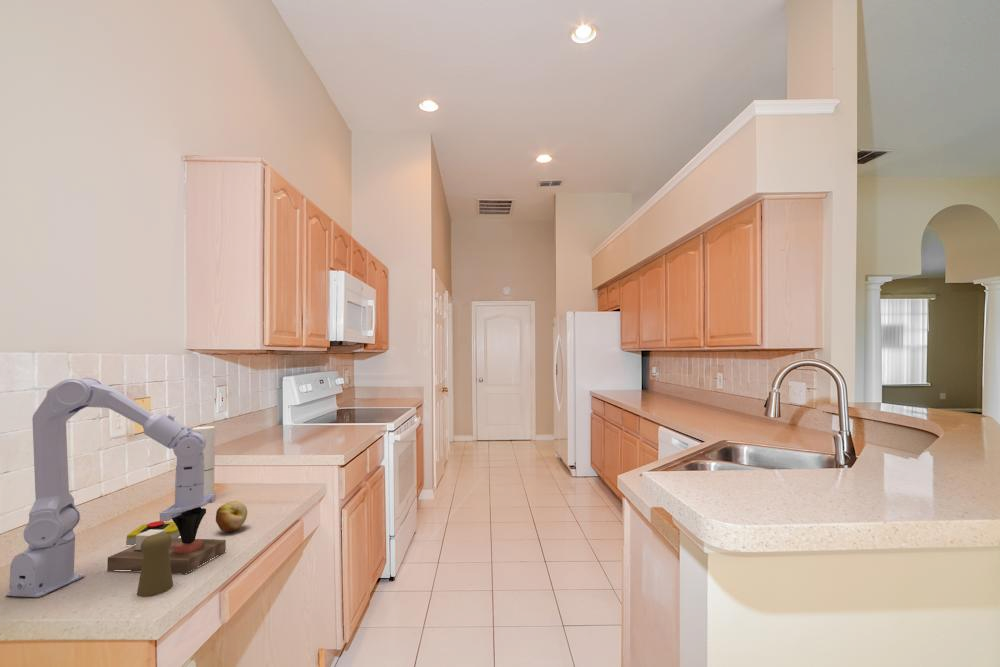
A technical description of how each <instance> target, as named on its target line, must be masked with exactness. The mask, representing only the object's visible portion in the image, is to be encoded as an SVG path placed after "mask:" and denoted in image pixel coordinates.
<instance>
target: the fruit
mask: <svg viewBox="0 0 1000 667" xmlns="http://www.w3.org/2000/svg"><path fill="white" fill-rule="evenodd" d="M247 517H248V508H247V506H246V505H245V504H244V503H242V502H241V501H236V500H235V501H234V500H233V501H229V502H226V503H224V504H223V505H220V506H219V507H218V509H216V514H215V523H216V524H217V526H218V528H219V530H221V531H223V532H225V533H231V532H234V531H236V530H238V529H239V528H241V527H242V526H243V525H244V523H245V522H246V520H247Z"/></svg>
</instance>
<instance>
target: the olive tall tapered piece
mask: <svg viewBox="0 0 1000 667" xmlns="http://www.w3.org/2000/svg"><path fill="white" fill-rule="evenodd" d="M171 543H172V538H171V536H170V535H169V534H166V533H160V534H154V535H151V536H148V537H147V538H145V539H144V540H143V542H142V544H141V551H142V553H143V554H144V557H143V563H142V568H141V572H140V575H139V580H138V586H137V591H136V595H137V597H140V596H141V597H140V598H148V597H153V596H158V595H160V594H164V593H166V592H168V591H169V590H171V589H172V588H173V586H174V582H173V574H172V573H171V565H170V558H169V550H168V549H169V548H170V546H171ZM163 592H164V593H163ZM157 594H158V595H157Z"/></svg>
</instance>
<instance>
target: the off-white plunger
mask: <svg viewBox="0 0 1000 667" xmlns="http://www.w3.org/2000/svg"><path fill="white" fill-rule="evenodd" d="M160 533H165V530H153V529H150V530H148V531H146V532H143V533H141V534H138V535H136V546H135V550H141V544H142V542H143V540H144V539H145V538H147V537H148V536H151V535H154V534H160Z"/></svg>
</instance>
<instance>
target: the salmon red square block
mask: <svg viewBox="0 0 1000 667" xmlns="http://www.w3.org/2000/svg"><path fill="white" fill-rule="evenodd" d="M202 545H203V540H194V542H192V543H190V544H188V543H180V544H178V545H176V546H174V553H191V552H193V551H195V550H197V549H199V548H201V547H202Z"/></svg>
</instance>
